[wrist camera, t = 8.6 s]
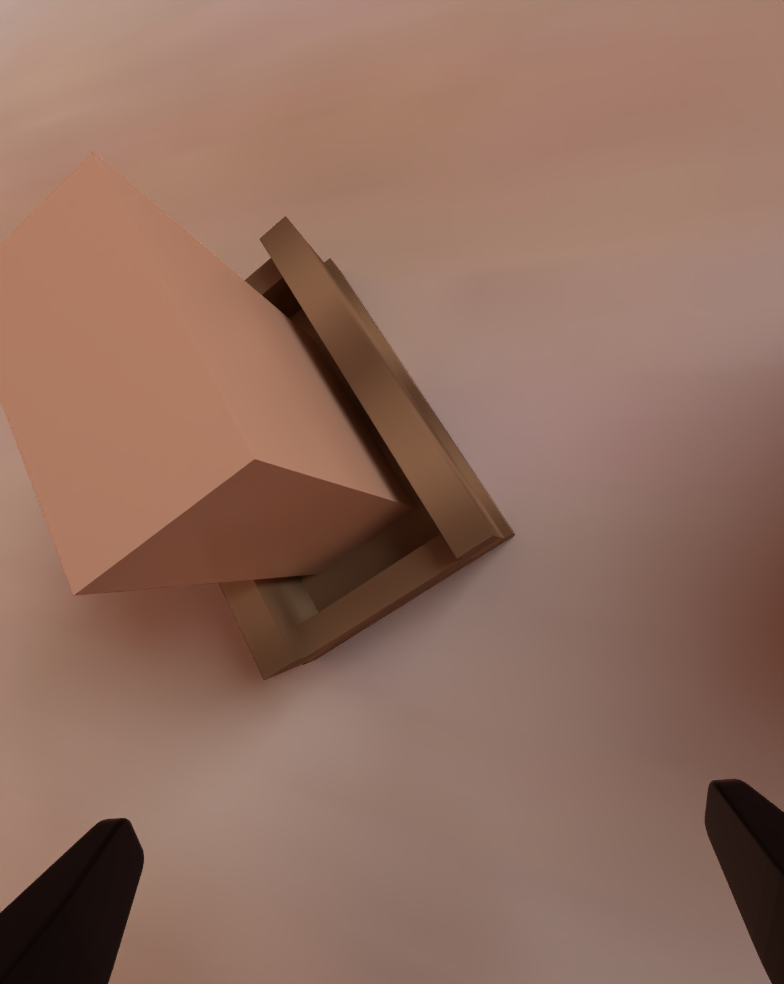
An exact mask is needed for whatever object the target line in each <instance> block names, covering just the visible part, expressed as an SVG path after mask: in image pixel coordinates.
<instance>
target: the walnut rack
mask: <svg viewBox="0 0 784 984" xmlns="http://www.w3.org/2000/svg"><path fill="white" fill-rule="evenodd" d="M260 241H261V242H262V244H263V246H264V247H265V249H266V250H267V252H268V254H269V255H270V257H271V258H270V259H269V260H268V261H267V262H266V263H265V264H263V265H262V266H261V267H260V268H259V269H258V270H256V271H255V272H254V273H253V274H252V275H251V276H249V277H248V278H247V279H246V280H245V281H246V282H247V283H248V284H249V285H250V286H251V287H253V288H254V289H255V290H256V291H257V292H258V293H260V294H261V295H262V296H263V297H264V298H266V299H267V300H268V301H269V302H270V303H271V304H273V305H274V306H275V307H276V308H277V309H278V310H280V311H281V312H282V313H283V314H284V315H285V316H287V317H288V318H289V319H290V320H291V321H293V322H294V323H295V324H296V325H297V326H298V327H300V328H301V329H302V330H303V331H304V332H305V333H307V334H308V335H309V336H310V337H311V338H312V339H314V341H315V343H316V344H317V346H318V347H319V349H320V351H321V352H322V354H323V356H324V357H325V359H326V361H327V362H328V364H329V365H330V367H331V369H332V370H333V372H334V374H335V375H336V377H337V379H338V380H339V382H340V383H341V385H342V387H343V388H344V390H345V392H346V393H347V395H348V397H349V398H350V400H351V401H352V403H353V405H354V406H355V408H356V410H357V411H358V413H359V415H360V416H361V418H362V419H363V421H364V423H365V424H366V426H367V428H368V429H369V431H370V433H371V434H372V436H373V437H374V439H375V441H376V442H377V444H378V446H379V447H380V449H381V451H382V452H383V454H384V455H385V457H386V459H387V460H388V462H389V464H390V465H391V467H392V469H393V470H394V472H395V473H396V475H397V477H398V478H399V480H400V482H401V483H402V485H403V487H404V488H405V490H406V491H407V493H408V495H409V496H410V498H411V500H412V501H413V503H414V505H415V506H416V509H414V510H413V511H411V512H410V513H408V514H407V515H405V516H404V517H402V518H401V519H399V520H398V521H396V522H395V523H393V524H392V525H390V526H389V527H387V528H386V529H384V530H383V531H381V532H380V533H378V534H377V535H375V536H374V537H372V538H371V539H369V540H368V541H366V542H365V543H363V544H362V545H360V546H359V547H357V548H356V549H355V550H353V551H352V552H350V553H349V554H347V555H346V556H344V557H343V558H341V559H340V560H338V561H337V562H335V563H334V564H332V565H331V566H329V567H328V568H326V569H325V570H323V571H322V572H320V573H319V574H312V575H301V576H289V577H278V578H267V579H255V580H244V581H233V582H221V583H219V585H220V587H221V589H222V591H223V593H224V595H225V598H226V600H227V602H228V604H229V606H230V608H231V610H232V613H233V615H234V617H235V619H236V621H237V623H238V625H239V628H240V630H241V632H242V634H243V636H244V638H245V640H246V643H247V645H248V647H249V649H250V651H251V653H252V656H253V658H254V660H255V662H256V664H257V666H258V668H259V671H260V673H261V675H262V677H263V679H264V680H266V679H268V678H271V677H273V676H275V675H278V674H280V673H282V672H285V671H287V670H289V669H292V668H294V667H296V666H299V665H301V664H303V665H304V664H306V663H309V662H311V661H313V660H315V659H317V658H319V657H320V656H322V655H324V654H325V653H327V652H328V651H330V650H332V649H333V648H335V647H336V646H338V645H340V644H341V643H343V642H344V641H346V640H348V639H349V638H351V637H352V636H354V635H356V634H357V633H359V632H360V631H362V630H364V629H365V628H367V627H368V626H370V625H372V624H373V623H375V622H376V621H378V620H380V619H381V618H383V617H384V616H386V615H388V614H389V613H391V612H392V611H394V610H396V609H397V608H399V607H400V606H402V605H404V604H405V603H407V602H408V601H410V600H412V599H413V598H415V597H416V596H418V595H420V594H421V593H423V592H424V591H426V590H428V589H429V588H431V587H432V586H434V585H436V584H437V583H439V582H440V581H442V580H444V579H445V578H447V577H448V576H450V575H452V574H453V573H455V572H456V571H458V570H460V569H461V568H463V567H464V566H466V565H468V564H469V563H471V562H472V561H474V560H476V559H477V558H479V557H480V556H482V555H484V554H485V553H487V552H488V551H490V550H492V549H493V548H495V547H496V546H498V545H500V544H501V543H503V542H504V541H506V540H508V539H509V538H511V537H512V536H514V535H515V533H514V532H513V530H512V529H511V527H510V526H509V524H508V523H507V521H506V520H505V518H504V517H503V515H502V514H501V512H500V511H499V509H498V508H497V506H496V505H495V503H494V502H493V500H492V499H491V497H490V496H489V494H488V493H487V491H486V490H485V488H484V487H483V485H482V484H481V482H480V481H479V479H478V478H477V476H476V475H475V473H474V472H473V470H472V469H471V467H470V466H469V464H468V463H467V461H466V460H465V458H464V457H463V455H462V454H461V452H460V451H459V449H458V448H457V446H456V445H455V443H454V442H453V440H452V438H451V437H450V435H449V434H448V432H447V431H446V429H445V428H444V426H443V425H442V423H441V422H440V420H439V419H438V417H437V416H436V414H435V413H434V411H433V410H432V408H431V407H430V405H429V404H428V402H427V401H426V399H425V398H424V396H423V395H422V393H421V392H420V390H419V389H418V387H417V386H416V384H415V383H414V381H413V380H412V378H411V377H410V375H409V374H408V372H407V371H406V369H405V368H404V366H403V365H402V363H401V362H400V360H399V359H398V357H397V356H396V354H395V353H394V351H393V350H392V348H391V347H390V345H389V344H388V342H387V341H386V339H385V338H384V336H383V334H382V333H381V331H380V330H379V328H378V327H377V325H376V324H375V322H374V321H373V319H372V318H371V316H370V315H369V313H368V312H367V310H366V309H365V307H364V306H363V304H362V303H361V301H360V300H359V298H358V297H357V295H356V294H355V292H354V291H353V289H352V288H351V286H350V285H349V283H348V282H347V280H346V279H345V277H344V276H343V274H342V273H341V271H340V270H339V269H338V267H337V266H336V265H335V264H334V262H333V261H332V260H331V259H330V258H329V259H328V260H327V261H326V262H325V263H324V262H323V261H322V260H321V258H320V257H319V256H318V255H317V254H316V252H315V251H314V250H313V249H312V247H311V246H310V245H309V244H308V243H307V241H306V240H305V239H304V238H303V237H302V235H301V234H300V233H299V232H298V231H297V229H296V228H295V227H294V226H293V224H292V223H291V222H290V221H289V220H288V218H287V217H286V216H285V217H284V218H283V219H282V220H281V221H279V222H278V223H277V224H276V225H275V226H274V227H273V228H271V229H270V230H269V231H268V232H267V233H266V234H265V235H263V236H262V237H261V238H260Z"/></svg>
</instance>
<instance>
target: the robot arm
mask: <svg viewBox="0 0 784 984" xmlns="http://www.w3.org/2000/svg"><path fill="white" fill-rule="evenodd" d="M705 826H706V830H707V834H708V837H709V839H710V842H711V844H712V846H713V849H714V851H715V854H716V856H717V858H718V861H719V863H720V866H721V868H722V870H723V873H724V875H725V877H726V880H727V882H728V885H729V887H730V889H731V892H732V894H733V897H734V899H735V901H736V904H737V906H738V909H739V911H740V913H741V916H742V918H743V920H744V923H745V925H746V928H747V930H748V932H749V935H750V937H751V940H752V942H753V944H754V946H755V949H756V951H757V953H758V956H759V958H760V960H761V962H762V965H763V967H764V969H765V971H766V973H767V975H768V977H769V979H770V981H771V983H772V984H784V812H783V811H782V810H780V809H779V808H778V807H776V806H775V805H774V804H773V803H771V802H770V801H769V800H767V799H766V798H765V797H763V796H762V795H761V794H760V793H758V792H757V791H756V790H754V789H753V788H752V787H751V786H749V785H748V784H747V783H745V782H743V781H741V780H738V779H725V780H714V781H712V782H711V783H710V784H709V787H708V793H707V802H706V811H705ZM143 864H144V853H143V849H142V847H141V844H140V842H139V840H138V838H137V835H136V833H135V831H134V829H133V826H132V824H131V822H130V821H129V820H128V819H126V818H117V819H106V820H102V821H100V822H99V823H97V824H96V825H95V826H93V827H92V828H91V829H90V830H89V831H88V832H87V833H86V834H85V835H84V836H83V837H82V838H81V839H79V840H78V841H77V842H76V843H75V844H74V845H73V846H72V847H71V848H70V849H69V850H68V851H67V852H65V853H64V854H63V855H62V856H61V857H60V858H59V859H58V860H57V861H56V862H55V863H54V864H52V865H51V866H50V867H49V868H48V869H47V870H46V871H45V872H44V873H43V874H42V875H41V876H40V877H38V878H37V879H36V880H35V881H34V882H33V883H32V884H31V885H30V886H29V887H28V888H27V889H25V890H24V891H23V892H22V893H21V894H20V895H19V896H18V897H17V898H16V899H15V900H14V901H13V902H11V903H10V904H9V905H8V906H7V907H6V908H5V909H4V910H3V911H2V912H1V913H0V984H108V982H109V979H110V976H111V973H112V970H113V967H114V964H115V960H116V957H117V953H118V950H119V947H120V943H121V940H122V937H123V933H124V930H125V927H126V923H127V920H128V916H129V913H130V910H131V906H132V903H133V900H134V896H135V893H136V890H137V886H138V883H139V880H140V876H141V873H142V869H143Z"/></svg>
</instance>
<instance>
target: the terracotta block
mask: <svg viewBox="0 0 784 984" xmlns="http://www.w3.org/2000/svg"><path fill="white" fill-rule="evenodd" d="M0 401H1V403H2V406H3V409H4V411H5V414H6V417H7V420H8V422H9V425H10V428H11V430H12V433H13V436H14V438H15V441H16V444H17V446H18V449H19V452H20V454H21V457H22V460H23V462H24V465H25V468H26V470H27V473H28V476H29V478H30V481H31V484H32V486H33V489H34V492H35V494H36V497H37V500H38V502H39V505H40V508H41V510H42V513H43V516H44V518H45V521H46V524H47V526H48V529H49V532H50V534H51V537H52V540H53V542H54V545H55V548H56V550H57V553H58V556H59V558H60V561H61V564H62V566H63V569H64V572H65V574H66V577H67V580H68V582H69V585H70V588H71V590H72V593H73V596H74V595H86V594H97V593H108V592H120V591H131V590H142V589H154V588H165V587H176V586H188V585H199V584H210V583H221V582H233V581H244V580H255V579H267V578H278V577H289V576H301V575H312V574H319V573H320V572H322V571H323V570H325V569H326V568H328V567H329V566H331V565H332V564H334V563H335V562H337V561H338V560H340V559H341V558H343V557H344V556H346V555H347V554H349V553H350V552H352V551H353V550H355V549H356V548H357V547H359V546H360V545H362V544H363V543H365V542H366V541H368V540H369V539H371V538H372V537H374V536H375V535H377V534H378V533H380V532H381V531H383V530H384V529H386V528H387V527H389V526H390V525H392V524H393V523H395V522H396V521H398V520H399V519H401V518H402V517H404V516H405V515H407V514H408V513H410V512H411V511H413V510H414V509H416V506H415V505H414V503H413V501H412V500H411V498H410V496H409V495H408V493H407V491H406V490H405V488H404V487H403V485H402V483H401V482H400V480H399V478H398V477H397V475H396V473H395V472H394V470H393V469H392V467H391V465H390V464H389V462H388V460H387V459H386V457H385V455H384V454H383V452H382V451H381V449H380V447H379V446H378V444H377V442H376V441H375V439H374V437H373V436H372V434H371V433H370V431H369V429H368V428H367V426H366V424H365V423H364V421H363V419H362V418H361V416H360V415H359V413H358V411H357V410H356V408H355V406H354V405H353V403H352V401H351V400H350V398H349V397H348V395H347V393H346V392H345V390H344V388H343V387H342V385H341V383H340V382H339V380H338V379H337V377H336V375H335V374H334V372H333V370H332V369H331V367H330V365H329V364H328V362H327V361H326V359H325V357H324V356H323V354H322V352H321V351H320V349H319V347H318V346H317V344H316V343H315V341H314V339H312V338H311V337H310V336H309V335H308V334H307V333H305V332H304V331H303V330H302V329H301V328H300V327H298V326H297V325H296V324H295V323H294V322H293V321H291V320H290V319H289V318H288V317H287V316H285V315H284V314H283V313H282V312H281V311H280V310H278V309H277V308H276V307H275V306H274V305H273V304H271V303H270V302H269V301H268V300H267V299H266V298H264V297H263V296H262V295H261V294H260V293H258V292H257V291H256V290H255V289H254V288H253V287H251V286H250V285H249V284H248V283H247V282H246V281H244V280H243V279H242V278H241V277H240V276H239V275H237V274H236V273H235V272H234V271H233V270H231V269H230V268H229V267H228V266H227V265H226V264H224V263H223V262H222V261H221V260H220V259H219V258H217V257H216V256H215V255H214V254H213V253H212V252H210V251H209V250H208V249H207V248H206V247H204V246H203V245H202V244H201V243H200V242H199V241H197V240H196V239H195V238H194V237H193V236H192V235H190V234H189V233H188V232H187V231H186V230H185V229H183V228H182V227H181V226H180V225H179V224H178V223H176V222H175V221H174V220H173V219H172V218H170V217H169V216H168V215H167V214H166V213H165V212H163V211H162V210H161V209H160V208H159V207H158V206H156V205H155V204H154V203H153V202H152V201H151V200H149V199H148V198H147V197H146V196H145V195H143V194H142V193H141V192H140V191H139V190H138V189H136V188H135V187H134V186H133V185H132V184H131V183H129V182H128V181H127V180H126V179H125V178H124V177H122V176H121V175H120V174H119V173H118V172H116V171H115V170H114V169H113V168H112V167H111V166H109V165H108V164H107V163H106V162H105V161H104V160H102V159H101V158H100V157H99V156H98V155H97V154H95V153H94V152H92V153H91V154H90V155H89V156H88V157H87V158H86V159H85V160H84V161H83V162H82V163H81V164H80V165H79V166H78V167H77V168H76V169H75V170H74V171H73V172H72V173H71V174H70V175H69V176H68V177H67V178H66V179H65V180H64V181H63V182H62V183H61V184H60V185H59V186H58V187H57V188H56V189H55V190H54V191H53V192H52V193H51V194H50V195H49V196H48V197H47V198H46V199H45V200H44V201H43V202H42V203H41V204H40V205H39V206H38V207H37V208H36V209H35V210H34V211H33V212H32V213H31V214H30V215H29V216H28V217H27V219H26V220H25V221H24V222H23V223H22V224H21V225H20V226H19V227H18V228H17V229H16V230H15V231H14V232H13V233H12V234H11V235H10V236H9V237H8V238H7V239H6V240H5V241H4V242H3V243H2V244H1V245H0Z"/></svg>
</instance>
